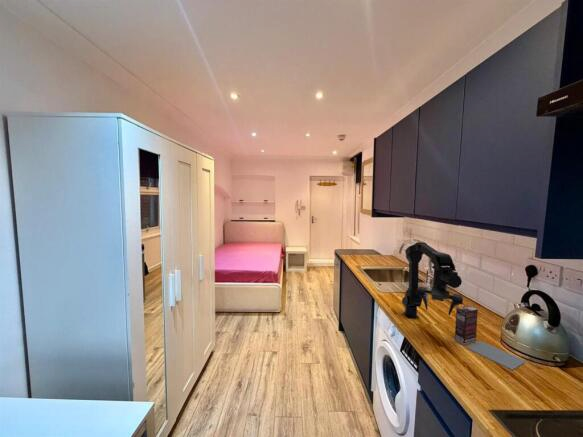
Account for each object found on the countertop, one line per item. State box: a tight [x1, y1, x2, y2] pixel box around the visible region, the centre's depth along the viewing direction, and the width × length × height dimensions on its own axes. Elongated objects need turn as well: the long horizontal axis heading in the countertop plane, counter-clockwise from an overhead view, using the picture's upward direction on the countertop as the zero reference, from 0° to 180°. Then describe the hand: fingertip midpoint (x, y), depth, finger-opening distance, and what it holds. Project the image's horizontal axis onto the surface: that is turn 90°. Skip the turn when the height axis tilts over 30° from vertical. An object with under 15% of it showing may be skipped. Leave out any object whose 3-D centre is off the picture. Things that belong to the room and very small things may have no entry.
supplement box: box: [454, 305, 479, 346], centre depth 120 cm, size 9×5×16 cm, turn 111°
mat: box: [465, 340, 527, 371], centre depth 109 cm, size 17×12×1 cm
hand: (437, 312), depth 121 cm, fingers open, 9 cm apart
